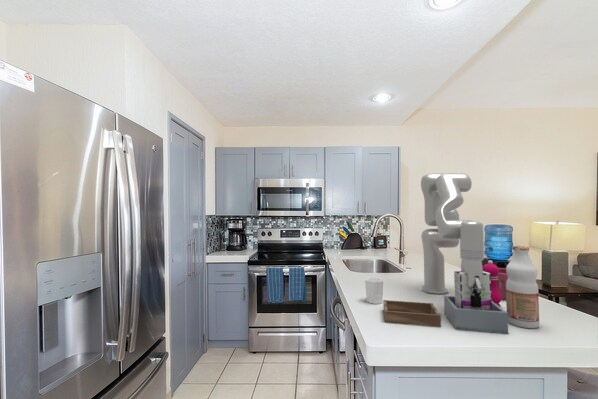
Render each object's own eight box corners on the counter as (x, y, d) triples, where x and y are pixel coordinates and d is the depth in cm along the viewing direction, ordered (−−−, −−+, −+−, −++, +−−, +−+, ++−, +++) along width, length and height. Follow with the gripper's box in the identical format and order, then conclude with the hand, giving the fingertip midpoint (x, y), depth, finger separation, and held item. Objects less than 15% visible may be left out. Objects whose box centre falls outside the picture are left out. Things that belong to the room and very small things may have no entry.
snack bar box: (483, 314, 110) (482, 270, 111) (492, 319, 105) (491, 273, 106) (454, 314, 110) (453, 270, 111) (461, 319, 105) (460, 273, 106)
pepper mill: (505, 311, 120) (504, 262, 120) (485, 310, 121) (484, 261, 122) (497, 305, 127) (495, 259, 127) (478, 304, 128) (477, 258, 129)
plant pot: (481, 295, 141) (480, 269, 142) (499, 292, 147) (498, 266, 147) (513, 304, 128) (512, 275, 129) (531, 300, 134) (531, 272, 134)
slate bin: (444, 313, 117) (444, 295, 117) (489, 316, 113) (489, 298, 114) (455, 329, 102) (455, 309, 102) (508, 333, 98) (507, 312, 98)
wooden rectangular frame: (383, 309, 122) (383, 300, 122) (432, 313, 117) (432, 303, 117) (385, 322, 108) (385, 311, 108) (441, 327, 104) (440, 315, 104)
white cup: (384, 300, 135) (383, 278, 135) (383, 305, 127) (382, 282, 128) (366, 298, 137) (366, 277, 138) (364, 303, 130) (364, 280, 130)
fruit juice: (500, 320, 110) (498, 245, 111) (520, 318, 112) (518, 244, 113) (525, 330, 101) (522, 248, 102) (546, 327, 103) (543, 247, 104)
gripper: (454, 251, 118) (455, 296, 117) (468, 258, 101) (469, 311, 100) (475, 251, 116) (476, 297, 115) (492, 259, 99) (493, 313, 99)
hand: (472, 303), depth 108 cm, fingers closed on snack bar box, 5 cm apart
